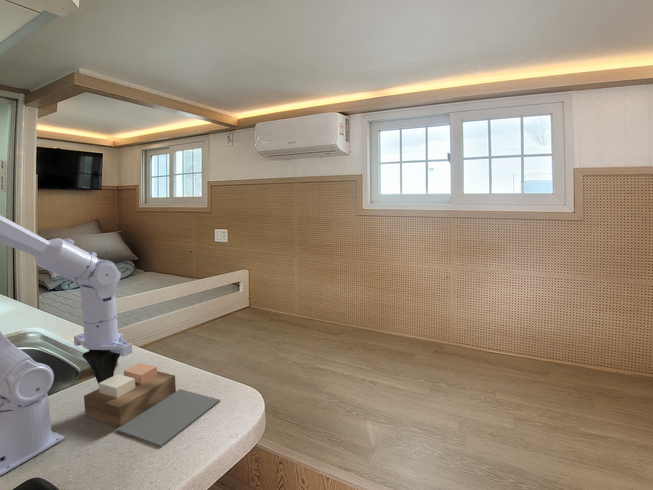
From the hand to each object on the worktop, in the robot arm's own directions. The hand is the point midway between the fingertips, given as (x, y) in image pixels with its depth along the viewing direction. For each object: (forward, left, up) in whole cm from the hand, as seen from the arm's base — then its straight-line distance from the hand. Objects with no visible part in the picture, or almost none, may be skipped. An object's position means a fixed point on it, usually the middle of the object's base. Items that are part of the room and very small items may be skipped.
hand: (105, 383), depth 71 cm
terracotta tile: (+5, -3, -1) cm, 7 cm away
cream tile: (0, -4, -1) cm, 4 cm away
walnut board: (+2, -4, -5) cm, 7 cm away
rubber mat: (+2, -15, -5) cm, 16 cm away
